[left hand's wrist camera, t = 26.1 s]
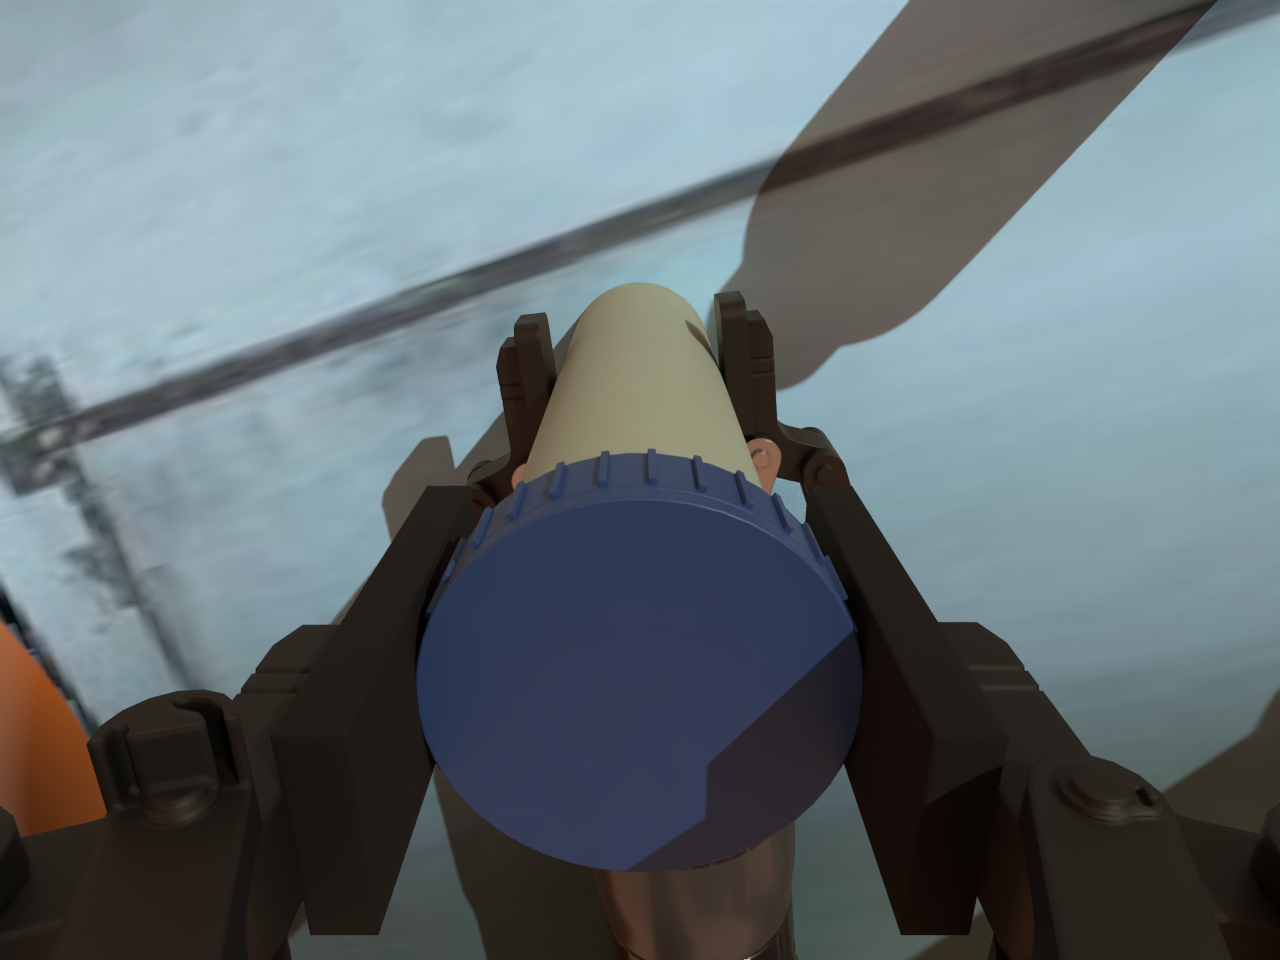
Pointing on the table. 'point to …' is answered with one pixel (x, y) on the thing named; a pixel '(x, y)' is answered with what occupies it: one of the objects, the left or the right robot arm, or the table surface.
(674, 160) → the table surface
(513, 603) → the lid
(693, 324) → the jar
